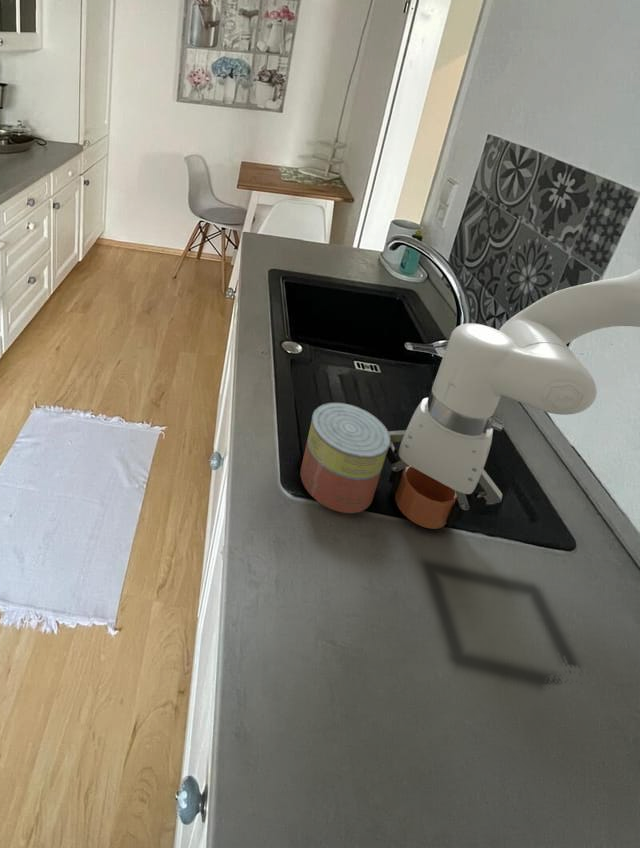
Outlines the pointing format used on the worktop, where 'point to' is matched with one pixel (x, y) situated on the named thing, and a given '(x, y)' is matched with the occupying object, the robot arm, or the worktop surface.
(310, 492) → the canned food
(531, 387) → the robot arm
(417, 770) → the worktop surface
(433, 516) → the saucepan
